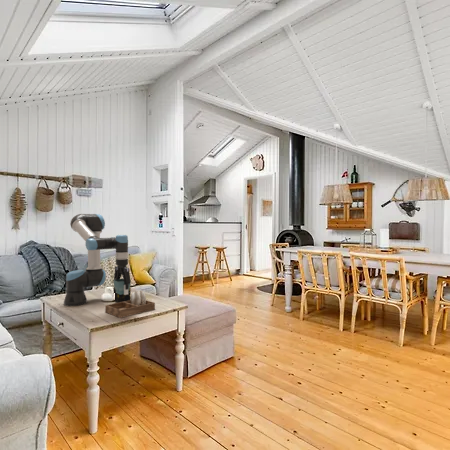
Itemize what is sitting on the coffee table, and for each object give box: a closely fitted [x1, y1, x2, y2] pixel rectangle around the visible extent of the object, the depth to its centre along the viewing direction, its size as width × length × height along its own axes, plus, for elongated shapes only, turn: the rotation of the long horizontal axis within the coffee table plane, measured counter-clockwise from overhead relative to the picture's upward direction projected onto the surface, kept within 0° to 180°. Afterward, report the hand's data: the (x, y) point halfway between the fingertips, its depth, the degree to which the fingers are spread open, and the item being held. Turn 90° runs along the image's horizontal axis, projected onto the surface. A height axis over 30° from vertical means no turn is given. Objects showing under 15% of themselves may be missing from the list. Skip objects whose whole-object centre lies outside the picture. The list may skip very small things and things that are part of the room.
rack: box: [104, 290, 156, 319], centre depth 217 cm, size 18×26×12 cm
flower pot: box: [113, 278, 132, 295], centre depth 212 cm, size 9×9×9 cm
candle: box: [112, 286, 132, 303], centre depth 244 cm, size 10×10×10 cm
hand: (122, 293), depth 212 cm, fingers closed on flower pot, 9 cm apart
